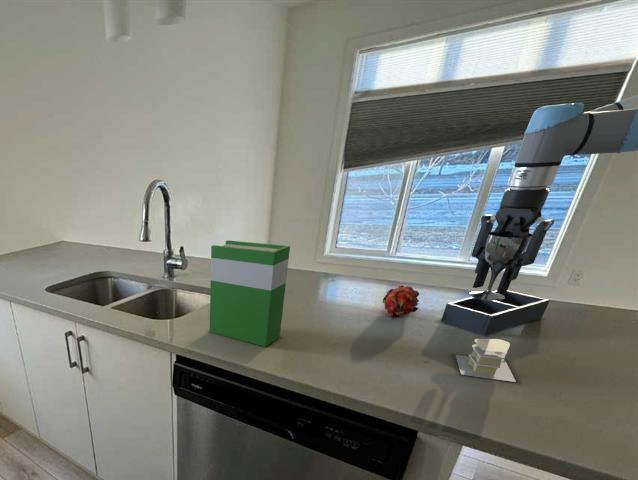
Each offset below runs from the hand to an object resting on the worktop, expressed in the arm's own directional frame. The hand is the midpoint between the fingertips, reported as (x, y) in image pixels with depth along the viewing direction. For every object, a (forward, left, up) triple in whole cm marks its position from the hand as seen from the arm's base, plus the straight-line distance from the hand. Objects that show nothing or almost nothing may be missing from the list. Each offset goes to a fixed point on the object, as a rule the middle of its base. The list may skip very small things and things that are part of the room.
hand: (489, 289), depth 102 cm
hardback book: (+25, +55, -10) cm, 61 cm away
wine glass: (0, 0, -2) cm, 2 cm away
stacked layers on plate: (-16, +22, -10) cm, 29 cm away
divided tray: (0, -5, -9) cm, 11 cm away
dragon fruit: (+15, +10, -10) cm, 20 cm away
